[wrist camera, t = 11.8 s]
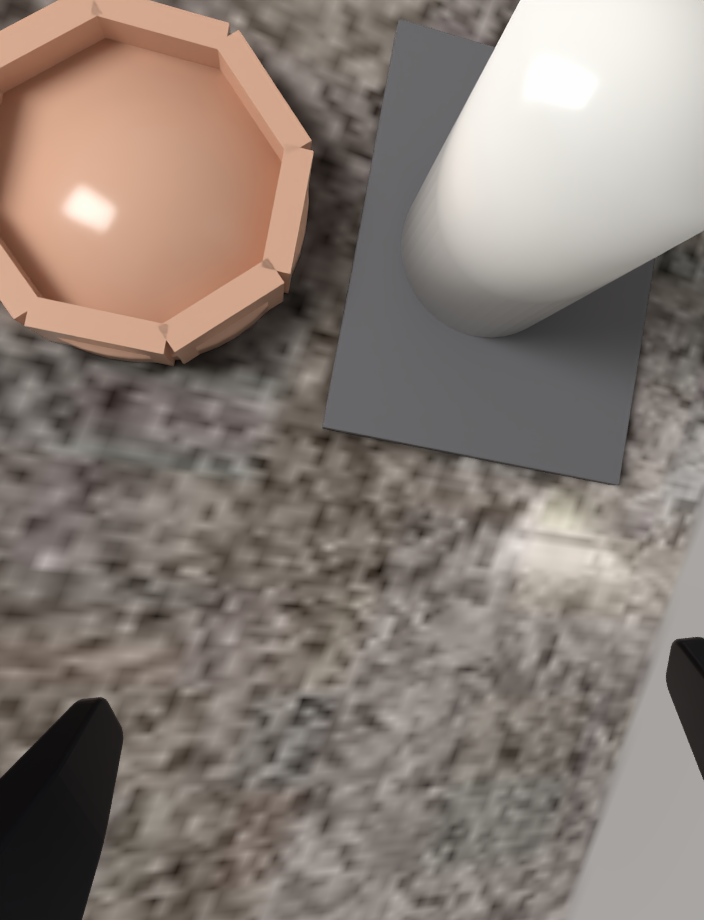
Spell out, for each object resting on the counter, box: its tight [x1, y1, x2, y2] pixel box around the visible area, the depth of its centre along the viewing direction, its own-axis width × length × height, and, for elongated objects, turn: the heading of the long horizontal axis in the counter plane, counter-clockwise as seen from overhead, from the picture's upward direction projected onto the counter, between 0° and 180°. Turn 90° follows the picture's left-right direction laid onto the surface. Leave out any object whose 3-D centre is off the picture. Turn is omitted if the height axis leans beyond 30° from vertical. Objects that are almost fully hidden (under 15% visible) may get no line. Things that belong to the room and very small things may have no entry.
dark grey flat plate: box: [322, 19, 655, 485], centre depth 23 cm, size 16×12×1 cm
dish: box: [0, 0, 314, 366], centre depth 20 cm, size 12×12×2 cm
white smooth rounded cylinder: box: [402, 0, 704, 338], centre depth 17 cm, size 7×7×11 cm
